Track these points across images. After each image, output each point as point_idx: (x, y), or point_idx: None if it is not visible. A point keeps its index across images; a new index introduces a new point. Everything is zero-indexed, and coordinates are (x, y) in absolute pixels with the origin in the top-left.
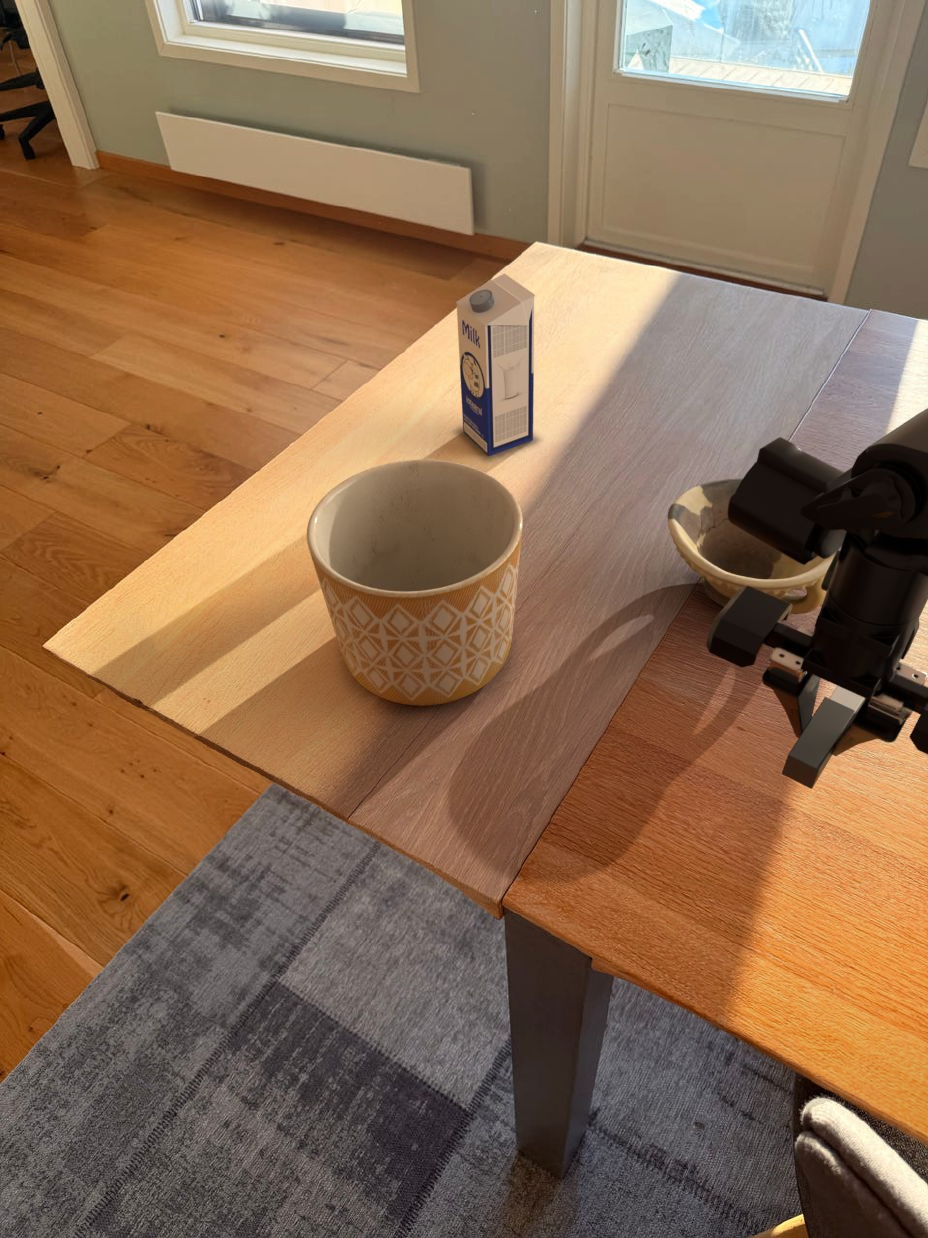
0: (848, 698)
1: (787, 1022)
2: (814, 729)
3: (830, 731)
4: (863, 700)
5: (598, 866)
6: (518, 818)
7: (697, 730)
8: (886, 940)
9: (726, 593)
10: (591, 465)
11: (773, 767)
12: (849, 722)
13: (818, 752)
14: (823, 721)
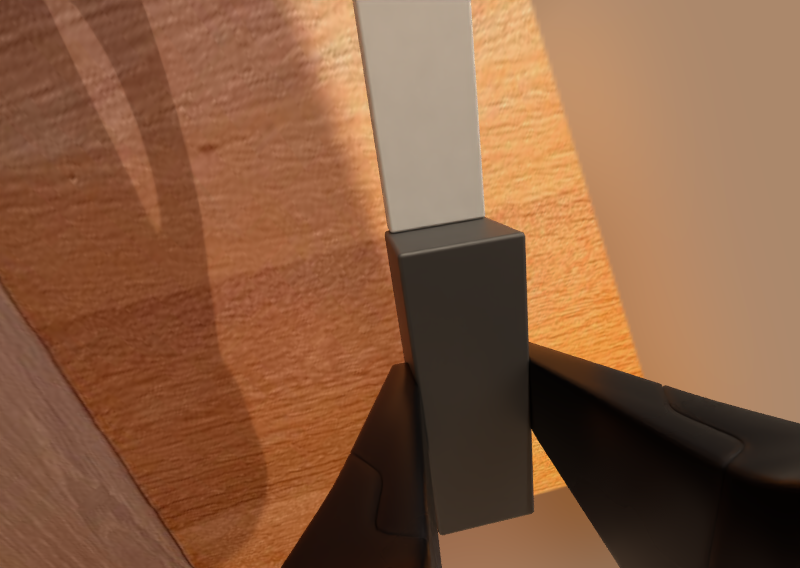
0: (431, 101)
1: (535, 472)
2: (451, 415)
3: (497, 385)
4: (754, 535)
5: (258, 503)
6: (121, 535)
7: (154, 216)
8: (587, 324)
9: None
10: None
11: (317, 187)
12: (650, 543)
13: (505, 472)
14: (457, 366)
